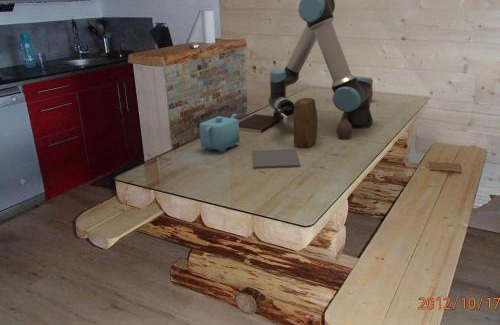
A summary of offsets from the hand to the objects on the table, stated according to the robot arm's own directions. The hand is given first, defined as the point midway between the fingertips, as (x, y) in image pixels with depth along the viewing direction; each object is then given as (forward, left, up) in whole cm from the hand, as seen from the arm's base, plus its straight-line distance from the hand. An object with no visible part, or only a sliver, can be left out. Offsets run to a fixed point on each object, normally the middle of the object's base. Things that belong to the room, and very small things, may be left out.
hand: (301, 118), depth 194 cm
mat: (+12, +20, -11) cm, 26 cm away
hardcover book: (+18, -30, -12) cm, 37 cm away
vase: (-20, -4, -11) cm, 23 cm away
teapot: (+34, +2, -11) cm, 36 cm away
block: (-2, +3, -11) cm, 12 cm away
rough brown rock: (-36, -67, -11) cm, 77 cm away
